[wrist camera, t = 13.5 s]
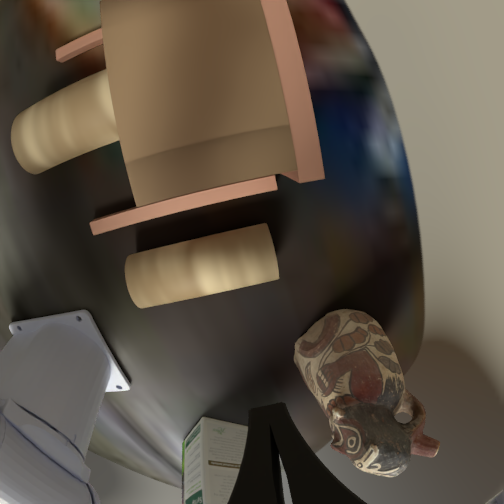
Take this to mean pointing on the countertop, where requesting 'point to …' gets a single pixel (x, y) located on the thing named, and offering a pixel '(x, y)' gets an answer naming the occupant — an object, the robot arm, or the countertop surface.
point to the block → (194, 94)
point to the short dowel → (202, 266)
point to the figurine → (362, 392)
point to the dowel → (65, 124)
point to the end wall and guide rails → (297, 114)
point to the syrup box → (212, 461)
